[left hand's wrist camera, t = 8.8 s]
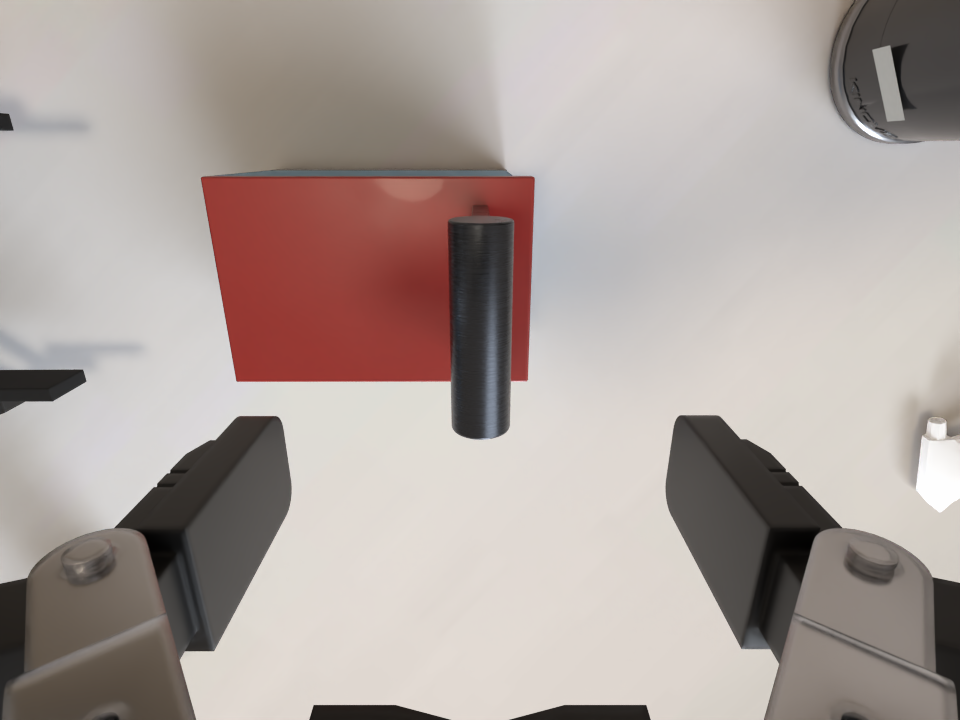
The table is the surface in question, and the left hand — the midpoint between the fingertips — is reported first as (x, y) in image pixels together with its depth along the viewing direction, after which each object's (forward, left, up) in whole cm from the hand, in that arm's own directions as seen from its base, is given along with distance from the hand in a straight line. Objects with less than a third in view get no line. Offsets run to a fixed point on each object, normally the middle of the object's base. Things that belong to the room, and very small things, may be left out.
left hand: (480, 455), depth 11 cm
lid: (+3, -3, -16) cm, 17 cm away
